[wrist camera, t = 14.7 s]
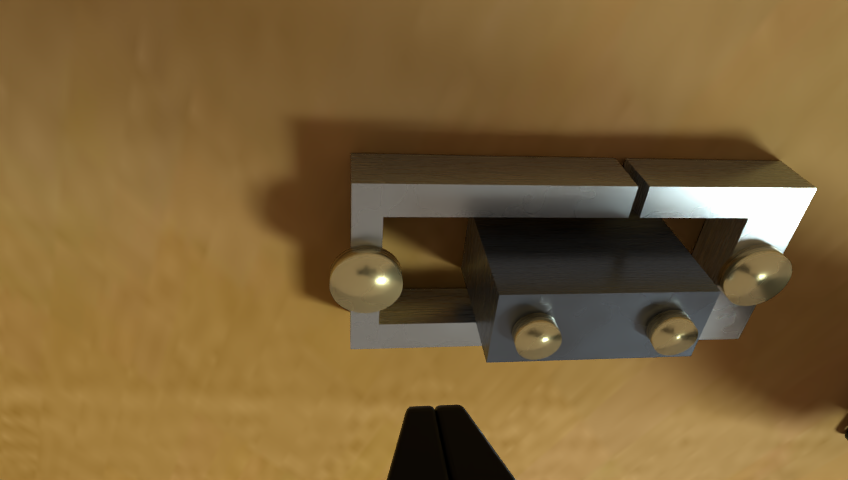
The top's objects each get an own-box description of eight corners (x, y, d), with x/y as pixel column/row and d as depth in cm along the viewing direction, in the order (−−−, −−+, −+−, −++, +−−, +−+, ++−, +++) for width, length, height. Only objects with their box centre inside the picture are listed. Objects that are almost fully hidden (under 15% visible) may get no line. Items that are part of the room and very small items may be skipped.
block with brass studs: (461, 267, 23) (490, 376, 18) (469, 205, 21) (504, 308, 17) (631, 265, 24) (699, 369, 19) (651, 206, 22) (731, 304, 18)
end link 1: (615, 158, 21) (646, 195, 18) (571, 308, 25) (593, 354, 22) (329, 153, 19) (327, 193, 17) (332, 313, 23) (331, 361, 21)
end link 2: (786, 161, 21) (834, 197, 19) (717, 305, 25) (751, 349, 23) (625, 158, 21) (658, 196, 19) (580, 308, 25) (603, 353, 22)
